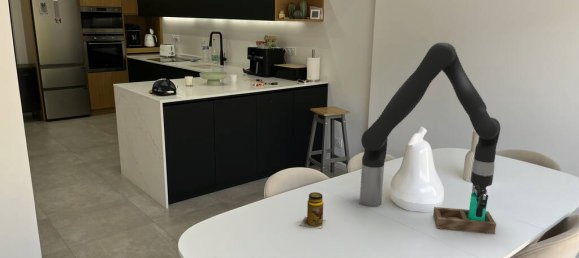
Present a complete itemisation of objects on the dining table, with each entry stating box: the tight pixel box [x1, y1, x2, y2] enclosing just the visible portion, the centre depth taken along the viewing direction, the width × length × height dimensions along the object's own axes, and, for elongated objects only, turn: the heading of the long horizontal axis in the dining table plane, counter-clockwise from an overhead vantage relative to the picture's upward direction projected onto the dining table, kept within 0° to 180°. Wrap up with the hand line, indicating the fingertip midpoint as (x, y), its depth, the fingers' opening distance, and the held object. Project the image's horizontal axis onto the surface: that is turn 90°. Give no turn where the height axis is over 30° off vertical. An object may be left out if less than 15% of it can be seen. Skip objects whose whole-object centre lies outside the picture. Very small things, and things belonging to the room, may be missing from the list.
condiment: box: [299, 191, 326, 229], centre depth 168 cm, size 7×8×12 cm
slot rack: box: [432, 206, 497, 235], centre depth 170 cm, size 20×11×4 cm, turn 80°
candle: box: [468, 192, 488, 221], centre depth 167 cm, size 6×6×12 cm
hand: (476, 213), depth 168 cm, fingers open, 5 cm apart
